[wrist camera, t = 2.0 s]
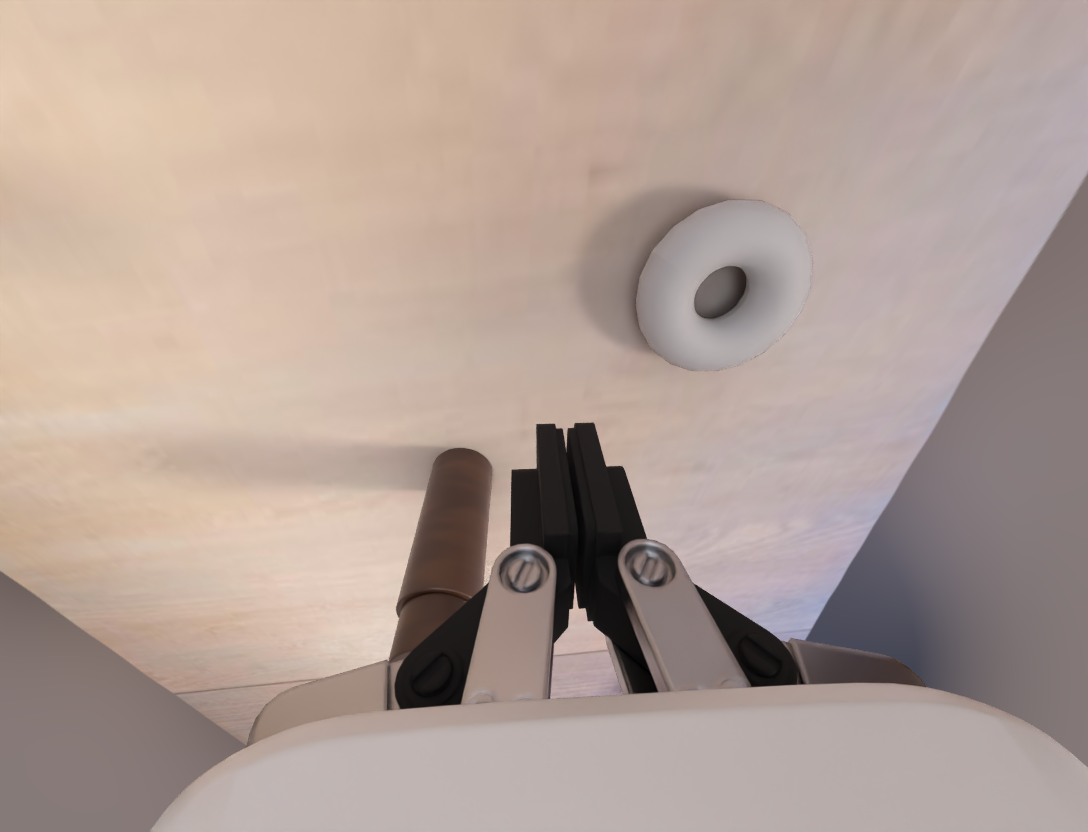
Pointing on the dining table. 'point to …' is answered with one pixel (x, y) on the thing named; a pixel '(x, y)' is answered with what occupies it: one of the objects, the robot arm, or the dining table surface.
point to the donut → (700, 249)
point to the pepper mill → (445, 548)
